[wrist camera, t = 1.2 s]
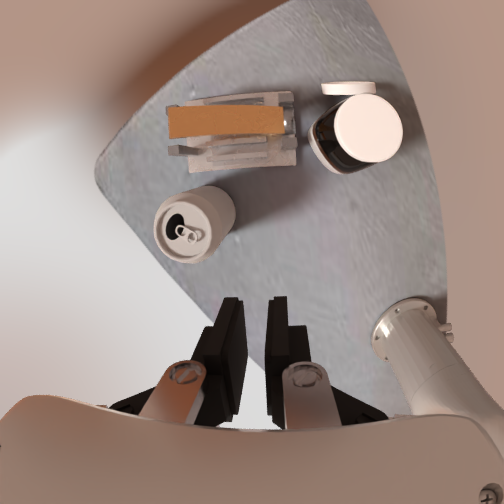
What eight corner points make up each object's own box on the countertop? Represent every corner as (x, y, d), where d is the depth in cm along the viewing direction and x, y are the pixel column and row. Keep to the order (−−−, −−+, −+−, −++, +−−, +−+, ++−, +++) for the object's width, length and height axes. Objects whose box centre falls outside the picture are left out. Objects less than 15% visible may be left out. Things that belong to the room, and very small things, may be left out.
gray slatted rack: (290, 93, 32) (294, 73, 24) (295, 165, 35) (301, 165, 27) (187, 103, 33) (163, 89, 25) (191, 172, 36) (168, 175, 28)
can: (197, 175, 37) (163, 181, 25) (246, 200, 37) (232, 216, 26) (176, 223, 39) (137, 247, 27) (222, 247, 39) (200, 281, 28)
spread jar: (328, 181, 35) (351, 188, 24) (280, 110, 33) (281, 87, 22) (396, 138, 32) (439, 132, 21) (351, 70, 30) (378, 38, 19)
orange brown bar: (289, 109, 28) (296, 107, 27) (291, 134, 29) (298, 133, 27) (167, 110, 23) (169, 106, 22) (168, 139, 24) (170, 137, 23)
